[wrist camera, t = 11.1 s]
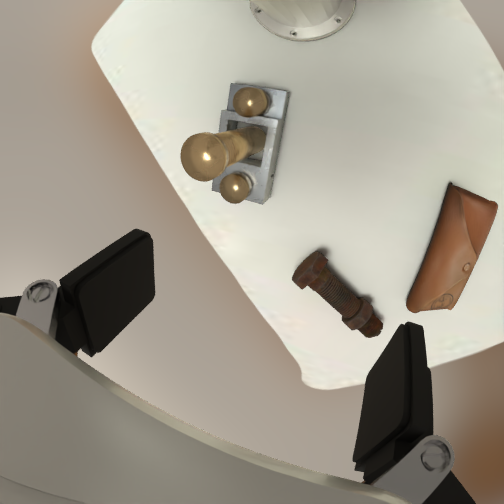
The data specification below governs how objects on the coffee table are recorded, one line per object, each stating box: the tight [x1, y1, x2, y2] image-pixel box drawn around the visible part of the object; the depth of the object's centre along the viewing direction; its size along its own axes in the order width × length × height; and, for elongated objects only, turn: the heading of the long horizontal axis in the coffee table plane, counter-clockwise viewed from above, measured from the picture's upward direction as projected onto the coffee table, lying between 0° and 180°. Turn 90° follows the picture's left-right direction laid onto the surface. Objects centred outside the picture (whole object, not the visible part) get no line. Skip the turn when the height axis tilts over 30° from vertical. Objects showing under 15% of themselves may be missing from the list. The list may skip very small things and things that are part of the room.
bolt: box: [292, 251, 383, 338], centre depth 39 cm, size 6×5×15 cm
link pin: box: [181, 126, 266, 181], centre depth 31 cm, size 4×4×13 cm
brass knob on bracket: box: [212, 83, 290, 205], centre depth 34 cm, size 14×7×4 cm, turn 171°
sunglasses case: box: [406, 183, 498, 313], centre depth 32 cm, size 18×7×7 cm
